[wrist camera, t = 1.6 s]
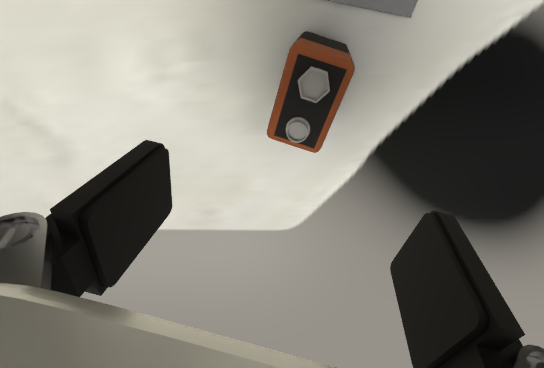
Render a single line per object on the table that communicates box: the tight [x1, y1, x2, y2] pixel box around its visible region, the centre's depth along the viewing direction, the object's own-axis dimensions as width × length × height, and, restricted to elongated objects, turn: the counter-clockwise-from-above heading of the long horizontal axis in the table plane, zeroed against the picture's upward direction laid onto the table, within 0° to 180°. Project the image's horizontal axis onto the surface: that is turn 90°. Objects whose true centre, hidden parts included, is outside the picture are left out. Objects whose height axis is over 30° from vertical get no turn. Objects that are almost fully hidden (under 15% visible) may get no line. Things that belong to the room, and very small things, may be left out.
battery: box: [267, 32, 355, 153], centre depth 21 cm, size 4×7×10 cm, turn 165°
